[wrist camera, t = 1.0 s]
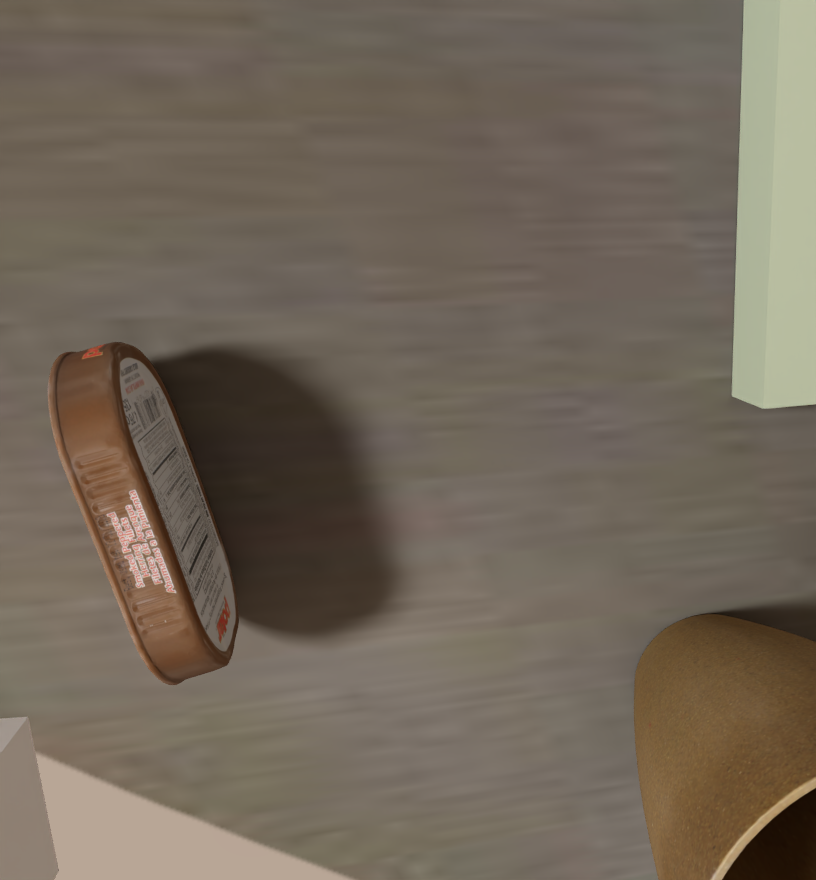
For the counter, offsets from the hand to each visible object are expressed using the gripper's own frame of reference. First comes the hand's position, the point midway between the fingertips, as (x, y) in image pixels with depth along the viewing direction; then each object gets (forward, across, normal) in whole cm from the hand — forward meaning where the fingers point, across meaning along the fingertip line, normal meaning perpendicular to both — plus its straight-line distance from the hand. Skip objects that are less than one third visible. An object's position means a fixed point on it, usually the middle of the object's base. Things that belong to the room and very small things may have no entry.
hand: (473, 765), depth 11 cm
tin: (+25, -11, -3) cm, 28 cm away
